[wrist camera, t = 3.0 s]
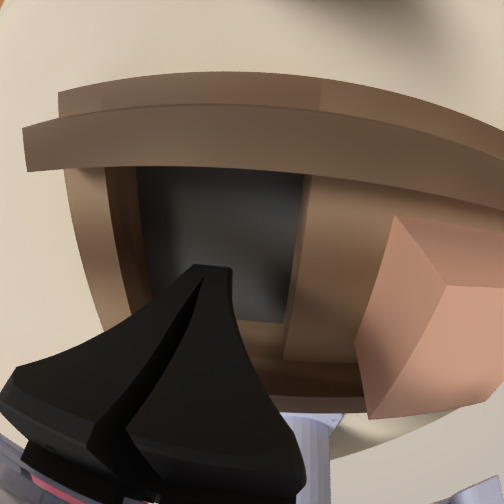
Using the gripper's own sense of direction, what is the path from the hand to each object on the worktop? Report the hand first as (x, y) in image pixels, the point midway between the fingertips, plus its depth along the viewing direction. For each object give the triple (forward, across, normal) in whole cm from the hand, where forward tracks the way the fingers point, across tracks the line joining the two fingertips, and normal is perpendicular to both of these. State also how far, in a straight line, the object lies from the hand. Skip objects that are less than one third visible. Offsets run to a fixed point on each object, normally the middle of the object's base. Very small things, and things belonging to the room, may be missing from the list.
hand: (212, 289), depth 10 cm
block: (+1, -9, 0) cm, 9 cm away
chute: (+4, -8, 0) cm, 9 cm away
